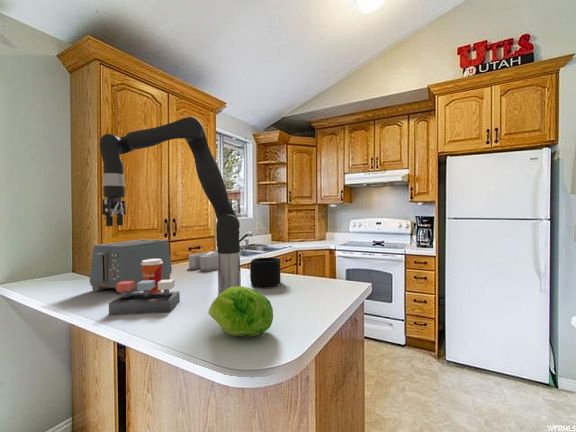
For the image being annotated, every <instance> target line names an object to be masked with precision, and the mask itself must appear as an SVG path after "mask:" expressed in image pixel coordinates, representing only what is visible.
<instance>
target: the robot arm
mask: <svg viewBox="0 0 576 432" xmlns="http://www.w3.org/2000/svg"><path fill="white" fill-rule="evenodd" d="M177 139H179V140H180V139H185V141H186V143H187V145H188V147H189V149H190V151H191V152H192V155H193V159H194V165H195V170H196V175H197V177H198V180H199V182H200V185H201V188H202V189H203V192H204V194H205V196H206V198H208V200H209V202H210V204H211V206H212V208H213V210H214V213H215V217H216V219H217V220H216V224H215V234H216V236H215V237H216V238H215V239H216V249H217V251H218V269H217V294H218V296H219V295H220V294H221V293H222V292H223V291H225V290H226V289H228V288H230V287H236V286H242V281H241V279H242V278H241V275H242V273H241V246H240V226H241V222H240V220H239V218H238V216H237V215H236V213H235V211H234V208H233V206H232V204H231V202H230V199H229V196H228V192H227V188H226V184H225V181H224V178H223V176H222V172H221V171H220V168H219V165H218V164H217V162H216V160H215V158H214V156H213V154H212V152H211V150H210V149H211V148H210V147H209V143H208V140H207V136H206V131H205V127H204V126H203V124H202V123H201V121H200V120H199V119H198V118H196V117H193V116H187V117H183V118H180V119H178V120H175V121H172V122H170V123H166V124H164V125H163V124H162V125H159V126H155V127H151V128H147V129H139V130H134V131H130V132H128V133H126V135H125V136H119V137H118V136H117V135H115V134H113V133H105V134H103V135H102V136H101V138H100V140H99V151H100V154H101V159H102V162H103V168H102V169H103V176H102V188H103V189H102V191H103V198H105V199H102V204H101V205H102V207H101V208H102V212H101V214H102V216H105V225H106V227H113V226H114V214H116V226H123V225H124V217H125V215H127V213H126V212H127V209H126V200H122V198H125V197H126V183H125V182H126V180H125V170H124V169H125V168H124V167H125V165H124V162H123V160H121V157H120V155H124V154H128V153H131V152H132V151H135V150H142V149H145V148H146V149H147V148H150V147H155V146H157V145H160V144H161V143H165V142H167V141H171V140H177ZM106 198H107V199H106Z"/></svg>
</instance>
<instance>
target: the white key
mask: <svg viewBox="0 0 576 432" xmlns="http://www.w3.org/2000/svg"><path fill="white" fill-rule="evenodd" d="M175 286H176V285H175V279H173V278H172V279H171V278H170V279H168V280H161V281H160V282H158V290H161V291H163V292H164V296H169V292H170V290H172V289H173V288H174V287H175Z"/></svg>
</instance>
